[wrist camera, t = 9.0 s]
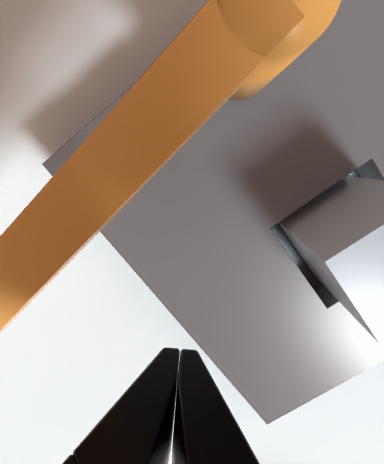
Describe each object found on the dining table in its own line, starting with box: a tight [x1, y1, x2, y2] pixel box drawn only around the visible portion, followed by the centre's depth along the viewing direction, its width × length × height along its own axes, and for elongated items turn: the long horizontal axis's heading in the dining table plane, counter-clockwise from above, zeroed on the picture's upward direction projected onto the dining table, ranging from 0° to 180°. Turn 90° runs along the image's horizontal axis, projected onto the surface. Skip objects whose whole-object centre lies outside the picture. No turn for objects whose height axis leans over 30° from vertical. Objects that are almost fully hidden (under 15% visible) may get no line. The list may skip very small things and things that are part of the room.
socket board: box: [42, 0, 384, 424], centre depth 14 cm, size 22×18×2 cm
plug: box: [278, 175, 384, 345], centre depth 13 cm, size 4×4×6 cm
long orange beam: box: [0, 0, 341, 333], centre depth 10 cm, size 3×14×6 cm, turn 134°
